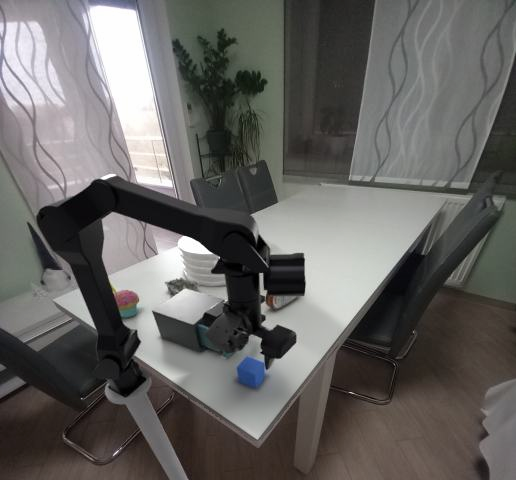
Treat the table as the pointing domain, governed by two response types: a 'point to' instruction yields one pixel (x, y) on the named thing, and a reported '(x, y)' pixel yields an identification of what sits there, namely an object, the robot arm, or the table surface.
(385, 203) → the table surface
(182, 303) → the cabinet
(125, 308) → the cupcake
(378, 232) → the table surface
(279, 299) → the tin
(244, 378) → the blue toy brick
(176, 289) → the egg carton
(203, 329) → the drawer
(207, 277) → the plate stack
